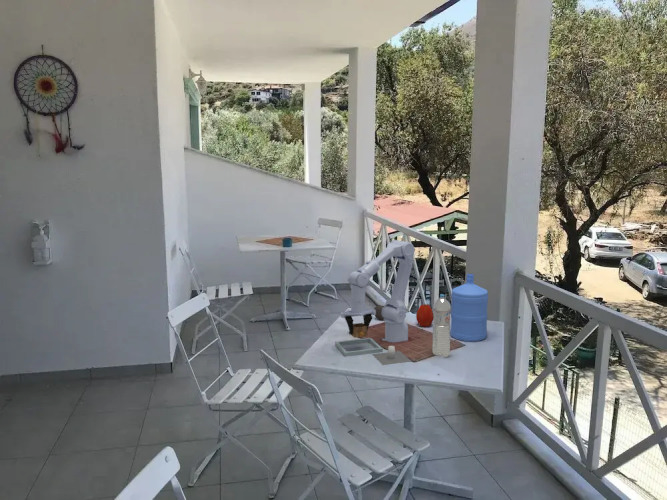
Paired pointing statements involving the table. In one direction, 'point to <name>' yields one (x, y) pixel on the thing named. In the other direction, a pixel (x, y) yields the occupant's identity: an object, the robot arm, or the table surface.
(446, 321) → the water bottle
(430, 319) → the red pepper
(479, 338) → the water jug
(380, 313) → the perforated stone tool
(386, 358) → the post board
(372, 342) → the pale green tray
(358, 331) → the walnut collar
